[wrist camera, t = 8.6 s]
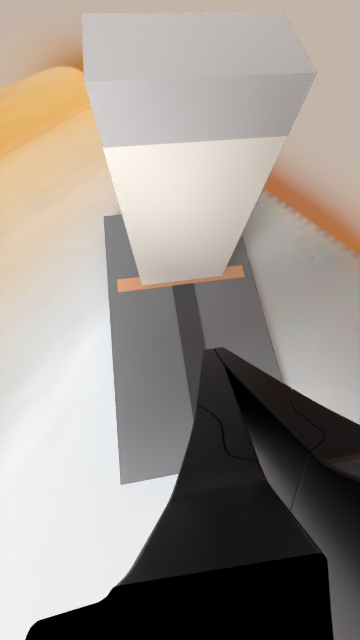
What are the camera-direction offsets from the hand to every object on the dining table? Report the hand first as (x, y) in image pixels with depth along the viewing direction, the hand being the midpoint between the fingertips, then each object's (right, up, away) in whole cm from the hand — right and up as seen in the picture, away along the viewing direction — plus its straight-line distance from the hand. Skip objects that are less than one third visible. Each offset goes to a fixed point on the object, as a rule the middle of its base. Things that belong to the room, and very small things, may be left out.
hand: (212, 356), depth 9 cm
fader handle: (-1, +6, +7) cm, 9 cm away
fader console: (-1, +1, +8) cm, 8 cm away
